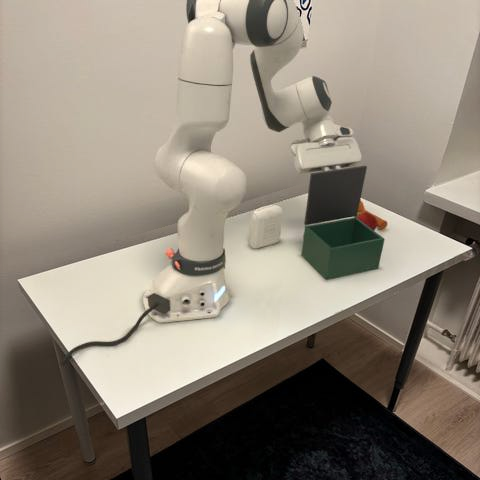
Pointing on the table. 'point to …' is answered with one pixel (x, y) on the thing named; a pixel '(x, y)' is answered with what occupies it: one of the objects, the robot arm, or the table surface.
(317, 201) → the bin lid
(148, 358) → the table surface
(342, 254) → the bin
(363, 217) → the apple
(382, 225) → the kendama
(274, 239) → the photo printer
